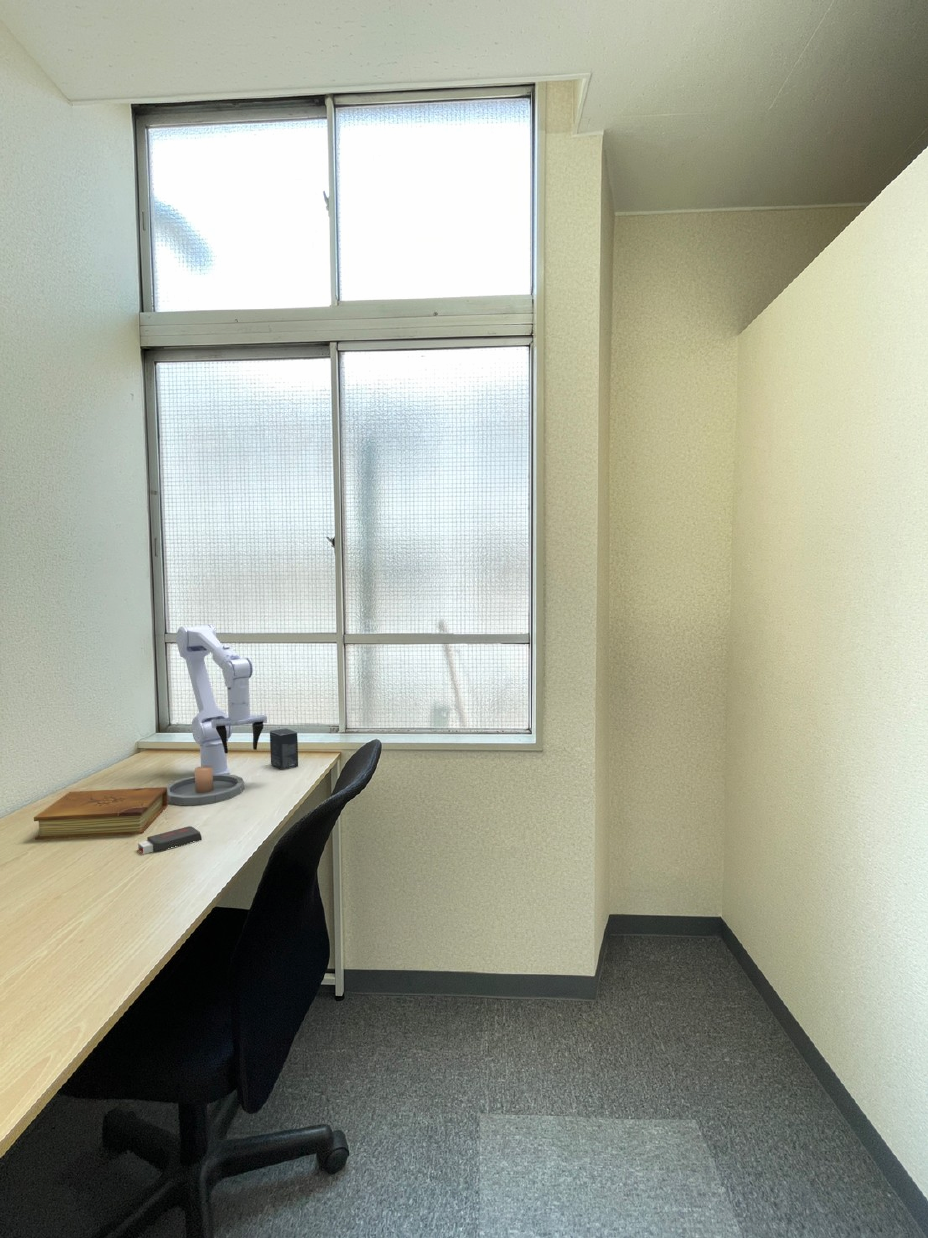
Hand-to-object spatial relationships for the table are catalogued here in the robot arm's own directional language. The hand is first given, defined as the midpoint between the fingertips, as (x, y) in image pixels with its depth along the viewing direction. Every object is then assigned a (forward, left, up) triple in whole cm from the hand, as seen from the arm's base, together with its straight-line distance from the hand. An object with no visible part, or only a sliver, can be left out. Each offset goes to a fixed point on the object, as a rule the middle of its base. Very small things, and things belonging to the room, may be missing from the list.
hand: (240, 750), depth 191 cm
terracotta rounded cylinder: (+3, -10, -9) cm, 14 cm away
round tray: (+3, -10, -9) cm, 14 cm away
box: (-13, +14, -10) cm, 21 cm away
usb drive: (+37, -20, -10) cm, 43 cm away
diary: (+15, -33, -10) cm, 38 cm away
